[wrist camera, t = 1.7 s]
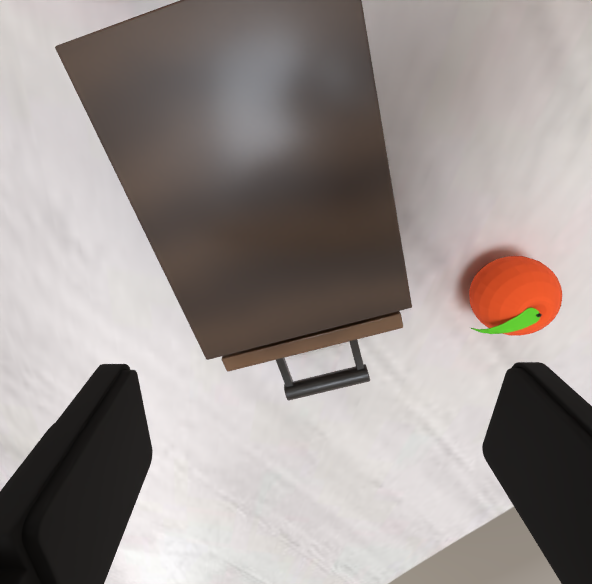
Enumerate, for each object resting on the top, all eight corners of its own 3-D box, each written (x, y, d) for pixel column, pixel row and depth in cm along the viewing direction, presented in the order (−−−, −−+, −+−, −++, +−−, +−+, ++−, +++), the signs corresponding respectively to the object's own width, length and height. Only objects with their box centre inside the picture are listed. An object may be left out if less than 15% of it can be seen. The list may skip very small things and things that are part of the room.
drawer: (385, 328, 35) (414, 389, 27) (260, 359, 37) (252, 426, 29) (330, 61, 26) (350, 33, 18) (161, 117, 27) (108, 115, 19)
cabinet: (375, 252, 33) (412, 308, 23) (229, 292, 34) (206, 360, 25) (326, 8, 25) (351, -64, 15) (139, 73, 26) (53, 46, 17)
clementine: (464, 328, 37) (502, 372, 30) (433, 279, 34) (467, 316, 28) (540, 286, 35) (597, 323, 28) (513, 230, 32) (568, 257, 26)
